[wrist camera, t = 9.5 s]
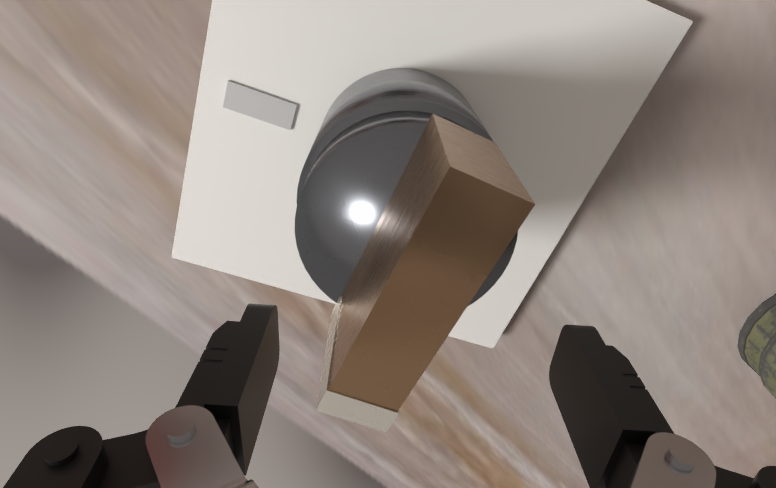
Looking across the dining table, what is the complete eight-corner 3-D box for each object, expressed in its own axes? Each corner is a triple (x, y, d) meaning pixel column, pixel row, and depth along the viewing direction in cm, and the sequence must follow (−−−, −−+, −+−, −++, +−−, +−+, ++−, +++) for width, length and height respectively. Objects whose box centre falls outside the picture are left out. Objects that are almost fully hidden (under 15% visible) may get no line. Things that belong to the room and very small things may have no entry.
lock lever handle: (352, 63, 17) (332, 114, 11) (551, 158, 19) (633, 248, 12) (273, 263, 21) (225, 383, 15) (442, 325, 23) (463, 455, 16)
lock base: (676, 18, 24) (808, 38, 17) (488, 334, 34) (517, 435, 27) (250, -171, 21) (170, -257, 13) (180, 245, 31) (113, 333, 23)
